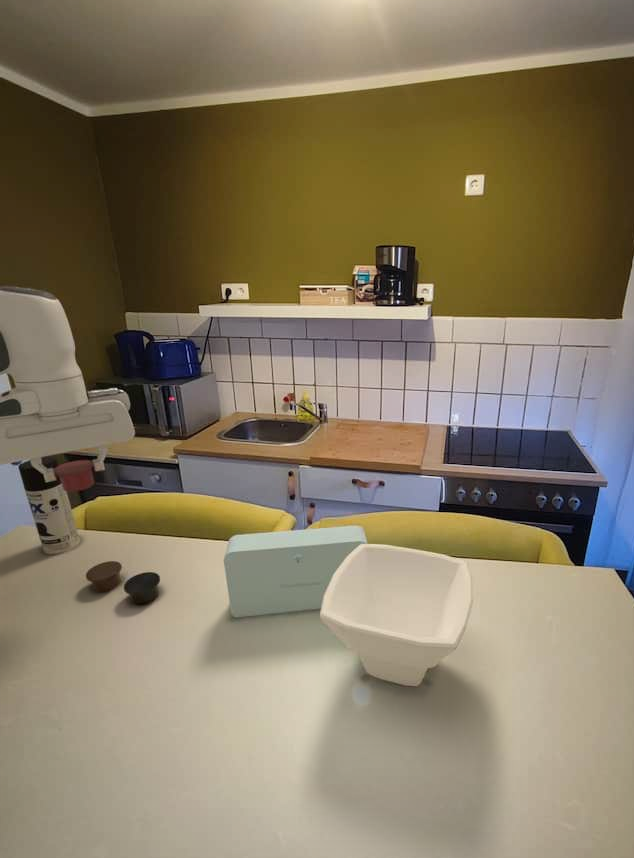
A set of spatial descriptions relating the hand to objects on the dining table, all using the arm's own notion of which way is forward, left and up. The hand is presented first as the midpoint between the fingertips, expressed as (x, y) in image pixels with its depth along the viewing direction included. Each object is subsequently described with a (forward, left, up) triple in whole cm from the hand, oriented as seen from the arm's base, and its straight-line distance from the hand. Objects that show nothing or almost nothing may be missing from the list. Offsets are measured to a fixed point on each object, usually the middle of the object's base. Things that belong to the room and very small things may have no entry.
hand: (75, 474), depth 73 cm
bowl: (+32, -47, -23) cm, 61 cm away
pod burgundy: (0, 0, -2) cm, 2 cm away
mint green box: (+27, -27, -23) cm, 45 cm away
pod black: (+5, -9, -23) cm, 25 cm away
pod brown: (0, -1, -23) cm, 23 cm away
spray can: (-6, +20, -23) cm, 31 cm away
